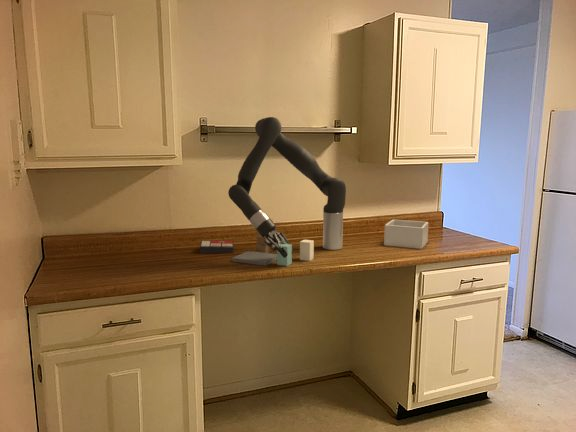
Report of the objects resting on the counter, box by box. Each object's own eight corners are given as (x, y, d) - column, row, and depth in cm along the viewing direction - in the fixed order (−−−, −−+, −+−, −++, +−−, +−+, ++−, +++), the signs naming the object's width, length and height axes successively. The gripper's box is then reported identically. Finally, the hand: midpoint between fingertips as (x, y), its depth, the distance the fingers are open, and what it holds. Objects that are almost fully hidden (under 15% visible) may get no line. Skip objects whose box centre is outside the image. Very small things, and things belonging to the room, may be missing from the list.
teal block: (281, 262, 197) (281, 243, 196) (291, 263, 195) (291, 244, 194) (277, 264, 193) (277, 245, 191) (287, 266, 191) (287, 246, 190)
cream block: (303, 257, 206) (304, 239, 204) (313, 258, 204) (313, 240, 202) (299, 259, 202) (300, 241, 200) (309, 261, 200) (309, 242, 198)
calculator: (233, 245, 212) (199, 245, 210) (233, 255, 213) (199, 254, 211) (233, 240, 223) (201, 239, 221) (233, 249, 224) (201, 248, 222)
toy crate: (392, 238, 246) (392, 219, 244) (427, 241, 238) (428, 222, 237) (384, 245, 230) (384, 225, 228) (421, 248, 222) (422, 228, 221)
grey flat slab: (248, 254, 211) (248, 250, 211) (280, 257, 204) (280, 254, 204) (232, 261, 198) (232, 257, 198) (266, 265, 192) (266, 262, 192)
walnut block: (261, 251, 216) (261, 234, 215) (270, 252, 214) (270, 235, 213) (256, 253, 212) (256, 236, 211) (265, 254, 210) (265, 237, 209)
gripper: (260, 220, 187) (287, 253, 184) (275, 215, 200) (301, 245, 197) (248, 232, 190) (275, 264, 188) (264, 226, 203) (290, 256, 200)
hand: (288, 254), depth 192 cm, fingers closed on teal block, 4 cm apart
